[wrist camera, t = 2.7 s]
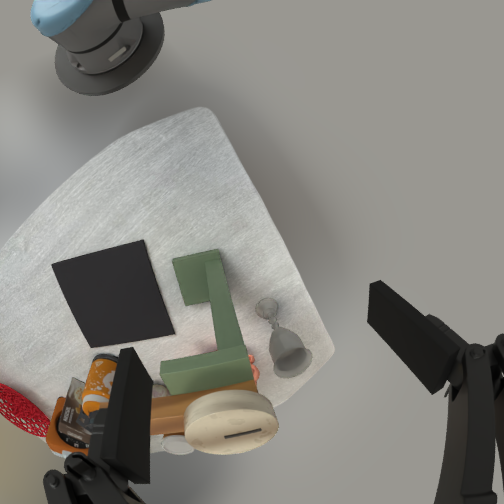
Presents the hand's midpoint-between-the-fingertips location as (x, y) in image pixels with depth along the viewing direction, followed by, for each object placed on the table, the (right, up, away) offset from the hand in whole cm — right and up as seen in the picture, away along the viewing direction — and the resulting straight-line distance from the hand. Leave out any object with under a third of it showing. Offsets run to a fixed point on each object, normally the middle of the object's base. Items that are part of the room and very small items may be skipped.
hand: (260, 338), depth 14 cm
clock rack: (-10, 0, +40) cm, 41 cm away
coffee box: (-47, -34, +45) cm, 73 cm away
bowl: (-81, -48, +43) cm, 103 cm away
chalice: (+3, -8, +46) cm, 47 cm away
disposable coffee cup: (-22, -44, +54) cm, 73 cm away
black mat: (-30, -6, +38) cm, 48 cm away
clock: (-9, -12, +12) cm, 19 cm away
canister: (-37, -24, +43) cm, 62 cm away
